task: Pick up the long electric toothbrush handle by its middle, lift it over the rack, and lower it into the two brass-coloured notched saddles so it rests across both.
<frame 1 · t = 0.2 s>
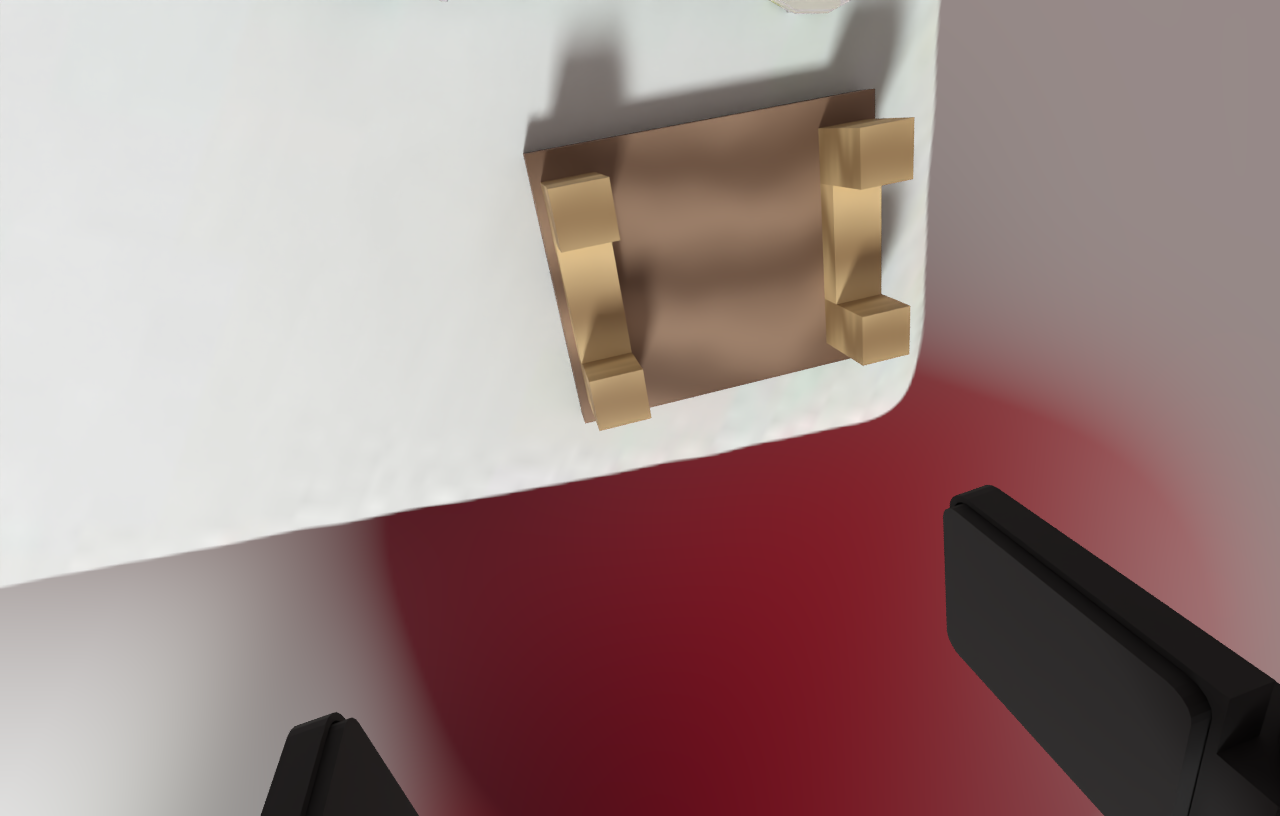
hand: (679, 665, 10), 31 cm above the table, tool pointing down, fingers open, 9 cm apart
rack: (713, 260, 39), on the table
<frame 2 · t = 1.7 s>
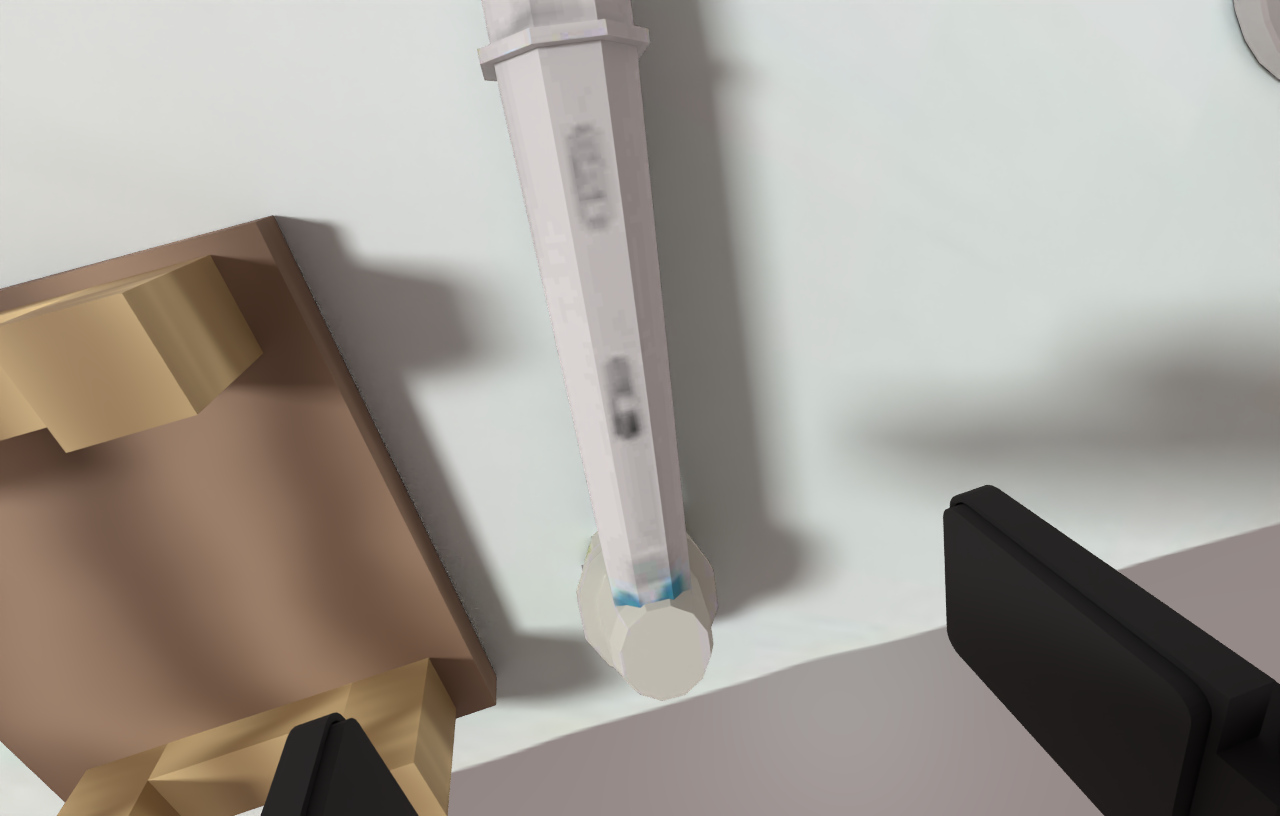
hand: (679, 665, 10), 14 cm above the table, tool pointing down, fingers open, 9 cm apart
electric toothbrush handle: (601, 343, 23), on the table
rack: (185, 557, 22), on the table
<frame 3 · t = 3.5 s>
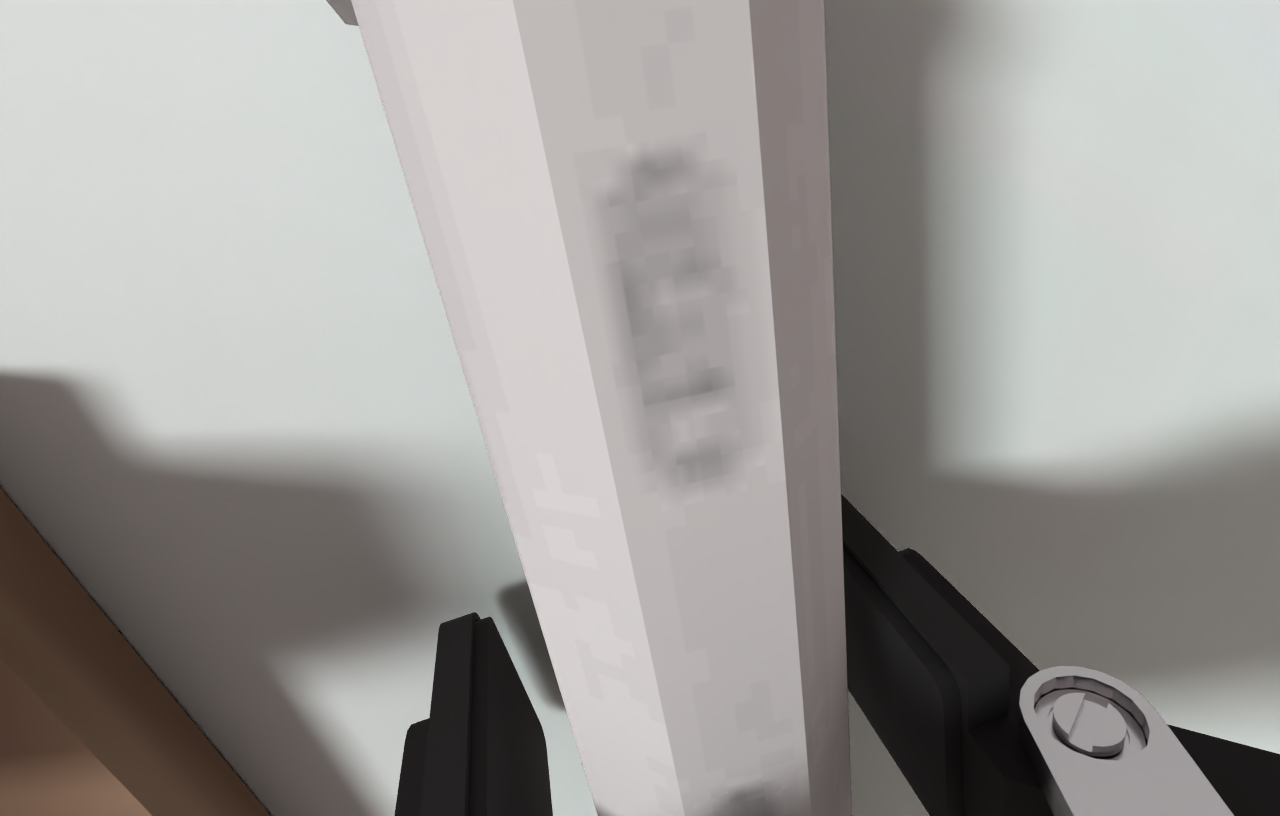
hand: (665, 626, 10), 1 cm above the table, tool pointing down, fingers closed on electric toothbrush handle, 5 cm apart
electric toothbrush handle: (652, 575, 11), on the table, touching gripper
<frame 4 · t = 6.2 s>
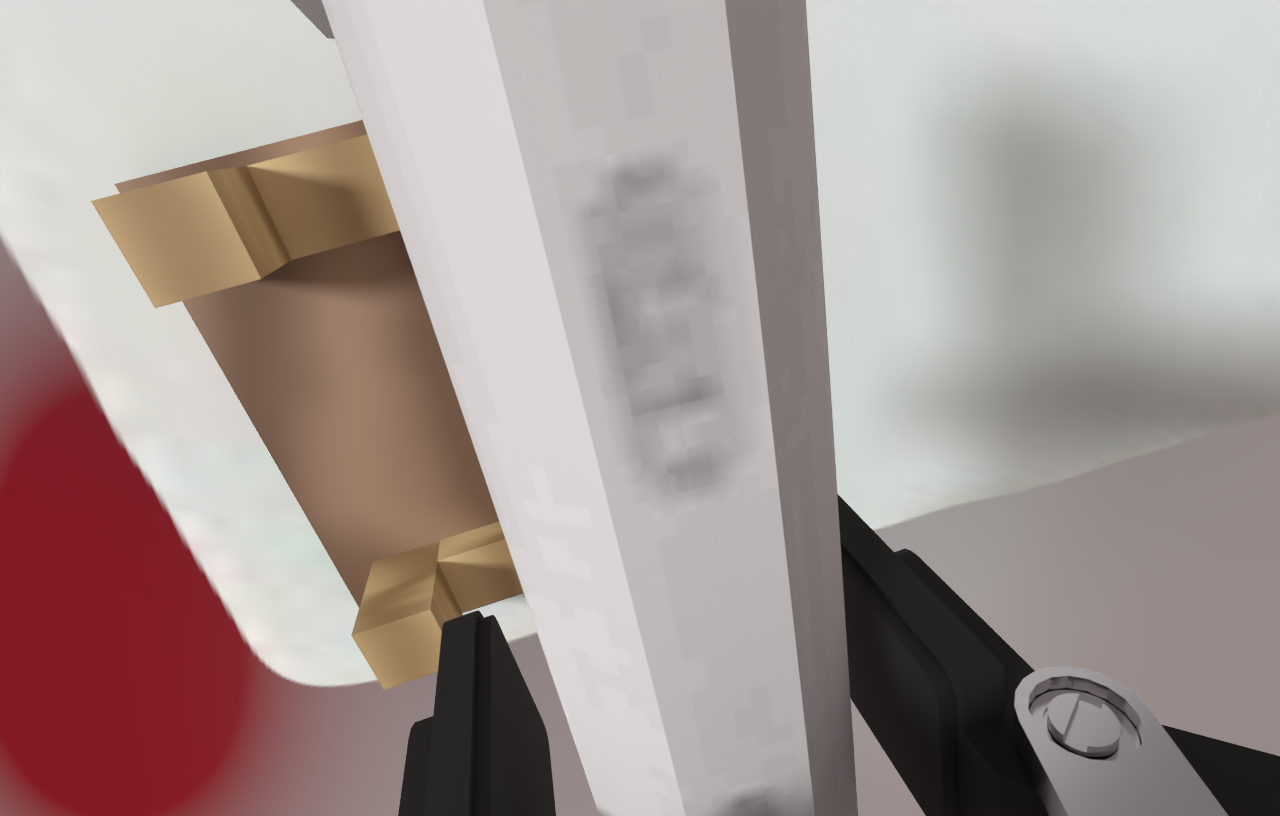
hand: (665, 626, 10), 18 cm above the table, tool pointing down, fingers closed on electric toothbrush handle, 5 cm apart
electric toothbrush handle: (654, 578, 11), point 17 cm above the table, touching gripper
rack: (467, 373, 27), on the table
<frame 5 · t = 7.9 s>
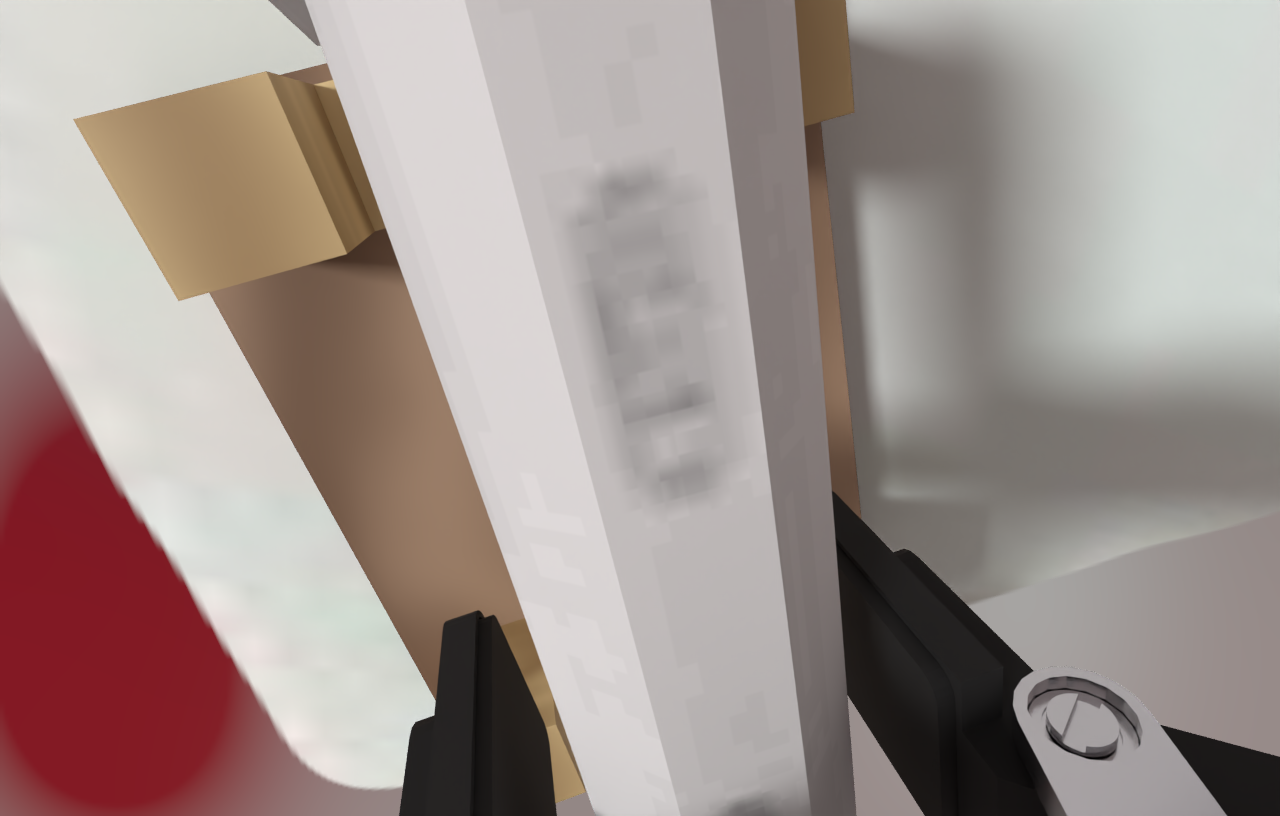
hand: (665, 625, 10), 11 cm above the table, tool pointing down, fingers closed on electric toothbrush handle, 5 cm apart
electric toothbrush handle: (652, 581, 11), point 10 cm above the table, touching gripper
rack: (585, 392, 20), on the table
when the fingers open (5 cm above the table, at t = 9.3 s): electric toothbrush handle drops 1 cm, resting on rack.
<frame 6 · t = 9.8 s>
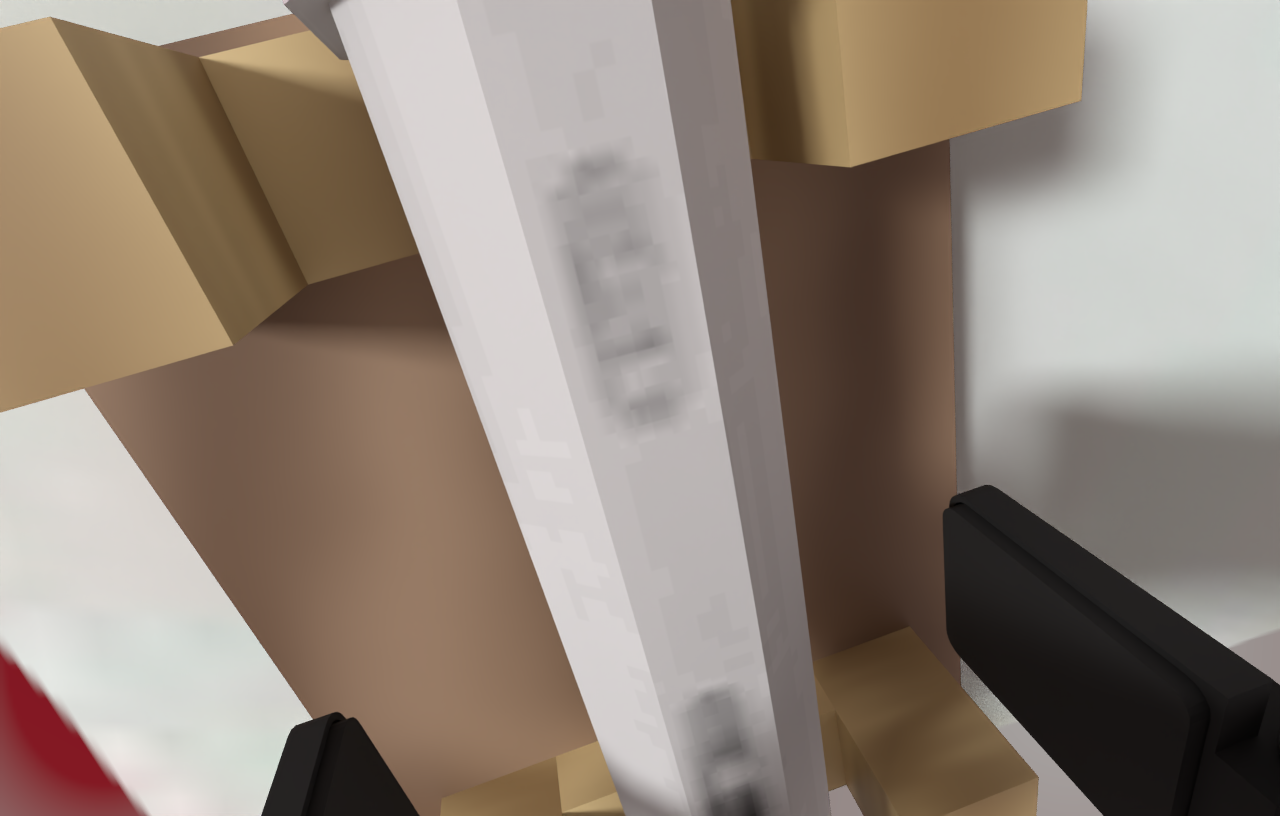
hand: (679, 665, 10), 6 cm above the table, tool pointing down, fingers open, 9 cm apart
electric toothbrush handle: (643, 535, 13), point 3 cm above the table, touching rack
rack: (611, 476, 15), on the table
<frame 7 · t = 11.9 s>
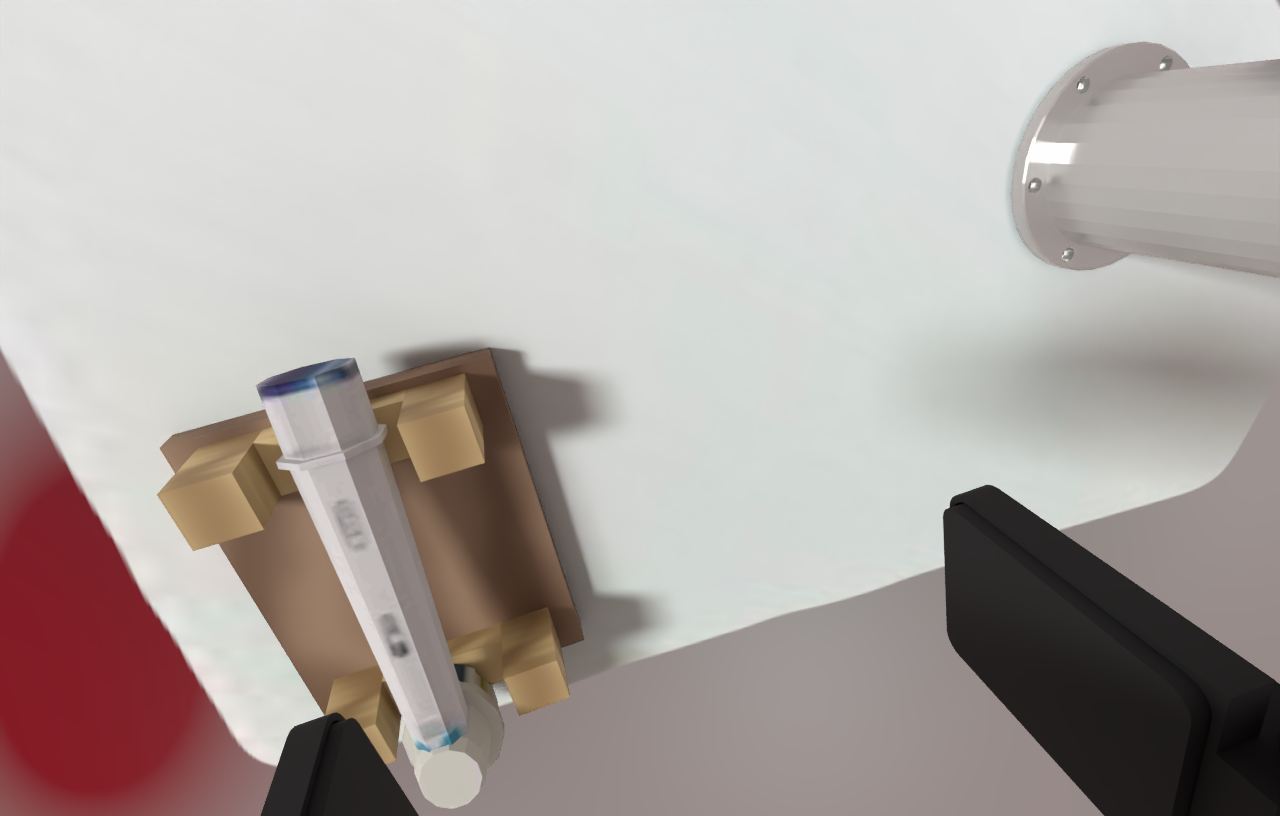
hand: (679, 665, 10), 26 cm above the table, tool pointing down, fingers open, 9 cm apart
electric toothbrush handle: (404, 569, 34), point 3 cm above the table, touching rack
rack: (406, 543, 37), on the table
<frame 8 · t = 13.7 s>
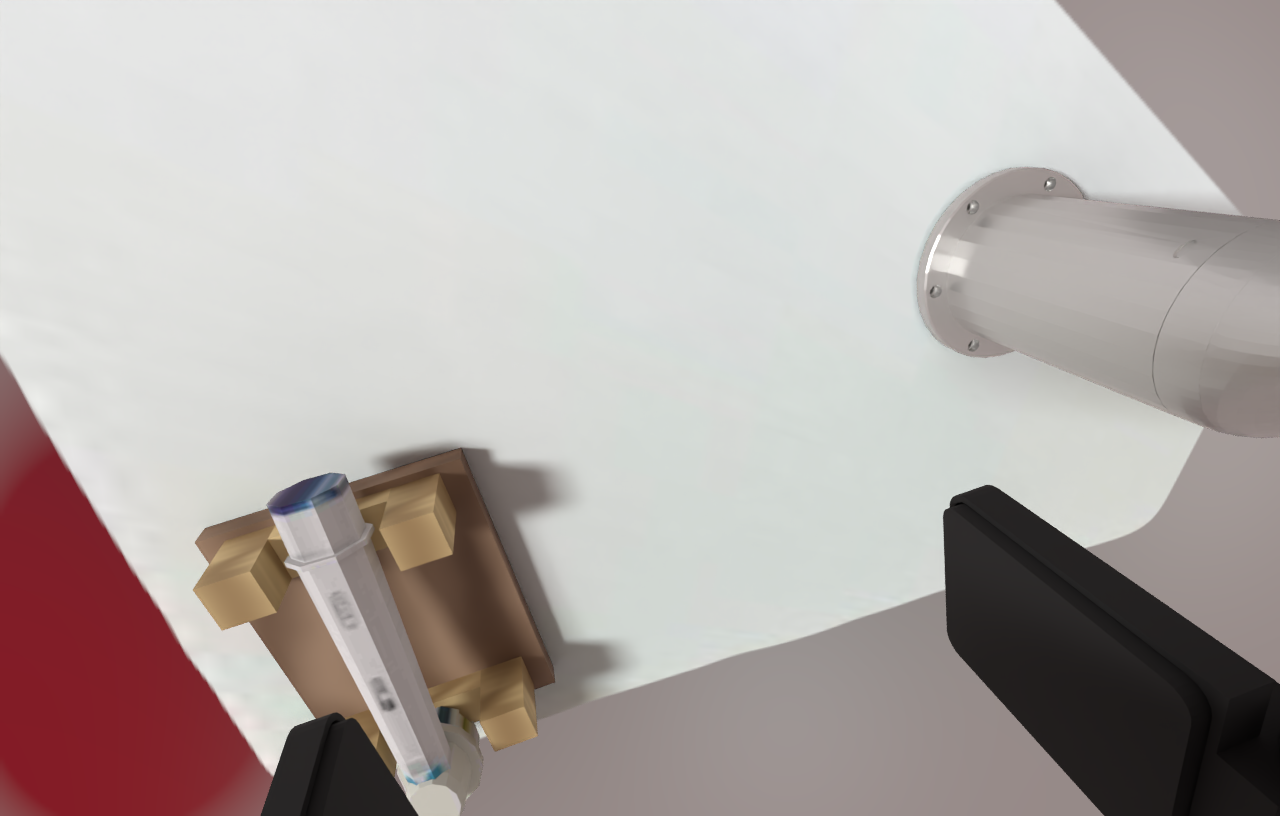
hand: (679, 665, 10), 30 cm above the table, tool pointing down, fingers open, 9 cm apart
electric toothbrush handle: (395, 631, 41), point 3 cm above the table, touching rack
rack: (399, 605, 44), on the table
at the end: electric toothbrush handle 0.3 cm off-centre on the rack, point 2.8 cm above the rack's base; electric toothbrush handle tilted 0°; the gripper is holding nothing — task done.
